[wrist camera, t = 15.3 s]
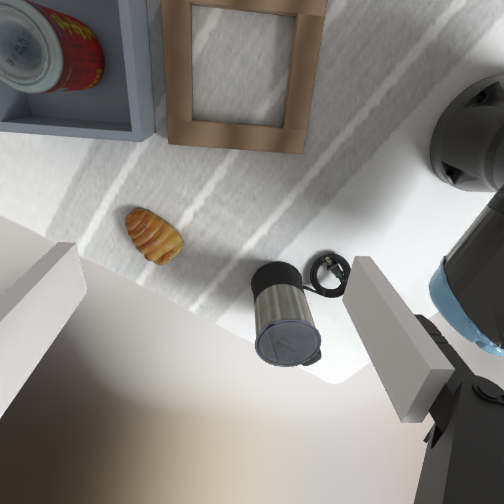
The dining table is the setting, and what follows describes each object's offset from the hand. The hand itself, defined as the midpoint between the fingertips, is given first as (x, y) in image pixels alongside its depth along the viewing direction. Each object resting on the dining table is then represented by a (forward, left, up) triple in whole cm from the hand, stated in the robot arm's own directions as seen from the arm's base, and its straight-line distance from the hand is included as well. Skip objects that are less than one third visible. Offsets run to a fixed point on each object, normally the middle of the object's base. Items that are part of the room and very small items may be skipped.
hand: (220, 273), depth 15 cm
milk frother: (-13, +22, -32) cm, 41 cm away
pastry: (+11, +15, -32) cm, 37 cm away
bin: (+18, -9, -32) cm, 38 cm away
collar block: (-1, -9, -32) cm, 33 cm away
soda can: (+18, -9, -31) cm, 37 cm away
